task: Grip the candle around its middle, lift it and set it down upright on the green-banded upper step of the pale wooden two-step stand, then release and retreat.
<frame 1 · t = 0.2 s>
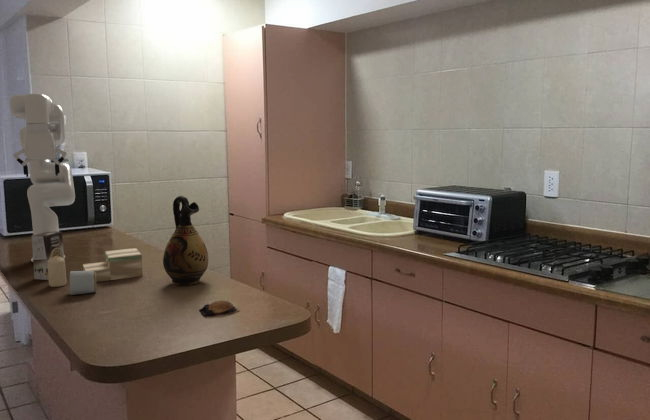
hand: (42, 176, 208), 36 cm above the counter, tool pointing down, fingers open, 9 cm apart
coffee box: (50, 277, 209), on the counter
step stand: (108, 275, 209), on the counter
candle: (58, 285, 197), on the counter
ceramic mug: (83, 292, 188), on the counter
turtle figurine: (219, 313, 167), on the counter
painted pottery vase: (185, 282, 199), on the counter
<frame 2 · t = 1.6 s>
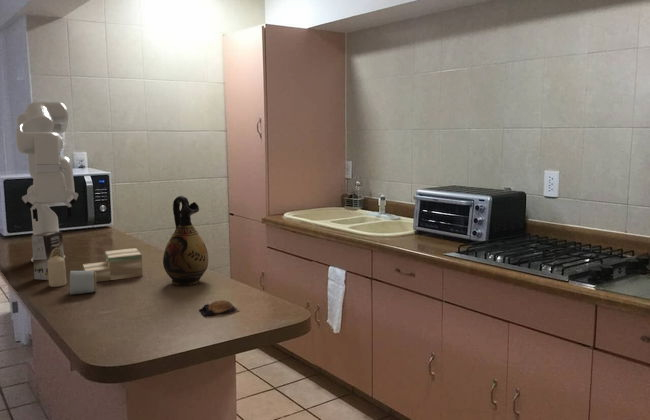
hand: (52, 219, 194), 23 cm above the counter, tool pointing down, fingers open, 9 cm apart
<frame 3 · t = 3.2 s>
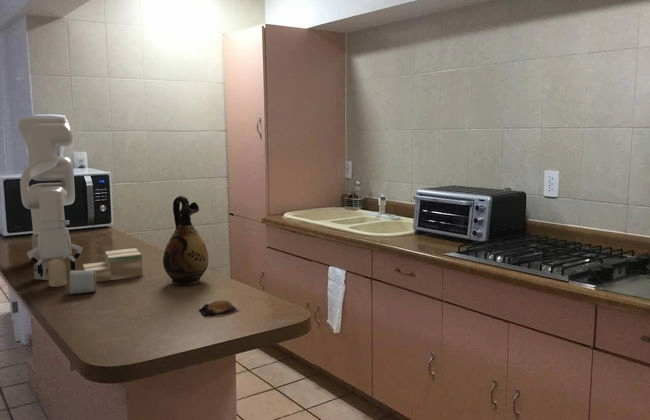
hand: (57, 273, 197), 4 cm above the counter, tool pointing down, fingers open, 9 cm apart
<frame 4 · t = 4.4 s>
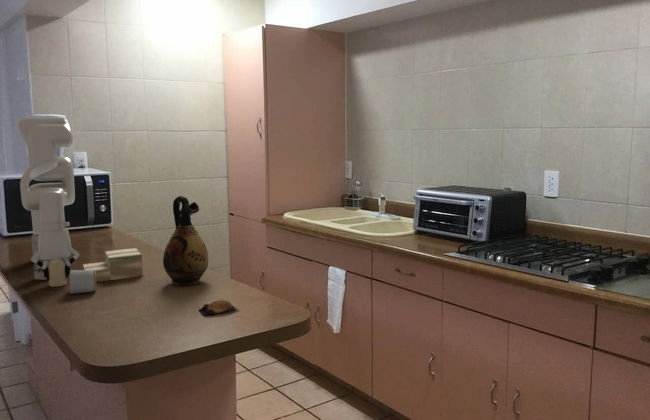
hand: (57, 277, 197), 3 cm above the counter, tool pointing down, fingers closed on candle, 5 cm apart
candle: (58, 285, 197), on the counter, touching gripper
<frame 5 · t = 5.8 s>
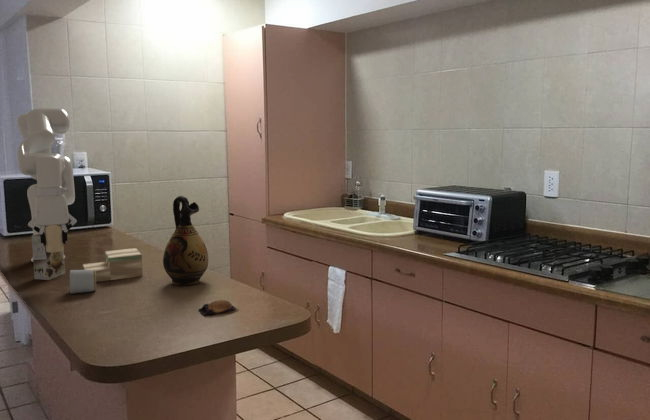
hand: (54, 243, 196), 14 cm above the counter, tool pointing down, fingers closed on candle, 5 cm apart
candle: (55, 251, 196), point 12 cm above the counter, touching gripper
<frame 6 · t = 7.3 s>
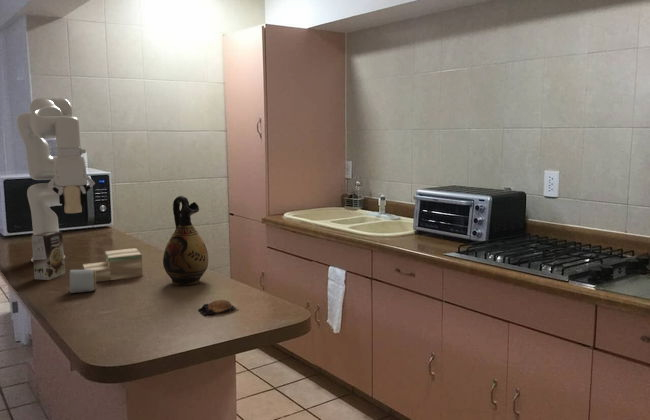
hand: (73, 205, 198), 27 cm above the counter, tool pointing down, fingers closed on candle, 5 cm apart
candle: (73, 212, 198), point 25 cm above the counter, touching gripper
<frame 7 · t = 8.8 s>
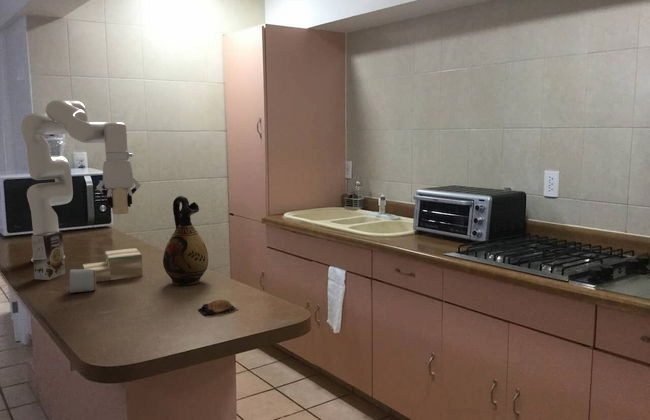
hand: (120, 206, 207), 25 cm above the counter, tool pointing down, fingers closed on candle, 5 cm apart
candle: (120, 213, 208), point 23 cm above the counter, touching gripper
when the fingers open (12 cm above the counter, at t = 11.9 s): candle drops 1 cm, resting on step stand.
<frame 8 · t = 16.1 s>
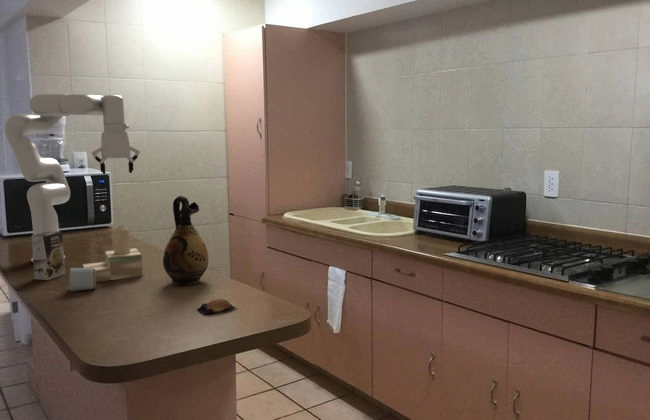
hand: (117, 173, 219), 36 cm above the counter, tool pointing down, fingers open, 9 cm apart
candle: (122, 253, 210), point 8 cm above the counter, touching step stand
ceramic mug: (82, 289, 192), on the counter
at the end: candle inside the target area on the step stand (0.6 cm from its centre), point 7.8 cm above the step stand's base; candle tilted 0°; the gripper is holding nothing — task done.
